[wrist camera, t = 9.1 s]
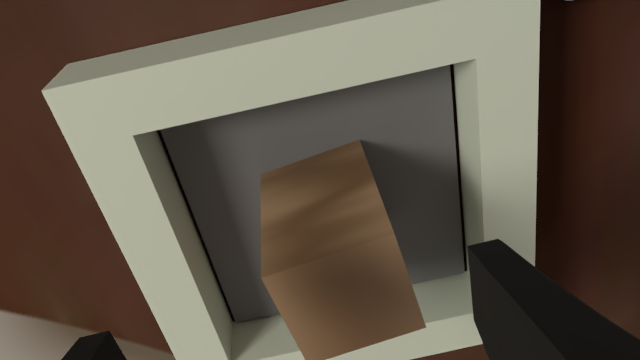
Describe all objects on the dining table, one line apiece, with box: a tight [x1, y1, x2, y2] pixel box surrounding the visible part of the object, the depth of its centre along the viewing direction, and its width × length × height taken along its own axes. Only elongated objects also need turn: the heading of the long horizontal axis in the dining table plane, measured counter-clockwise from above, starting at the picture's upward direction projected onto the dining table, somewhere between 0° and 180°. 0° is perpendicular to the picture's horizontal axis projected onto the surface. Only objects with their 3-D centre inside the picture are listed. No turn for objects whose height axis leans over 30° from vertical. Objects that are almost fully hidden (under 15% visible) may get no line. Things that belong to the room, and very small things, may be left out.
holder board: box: [42, 0, 540, 360], centre depth 20 cm, size 15×15×2 cm
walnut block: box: [261, 140, 426, 360], centre depth 19 cm, size 4×4×6 cm
